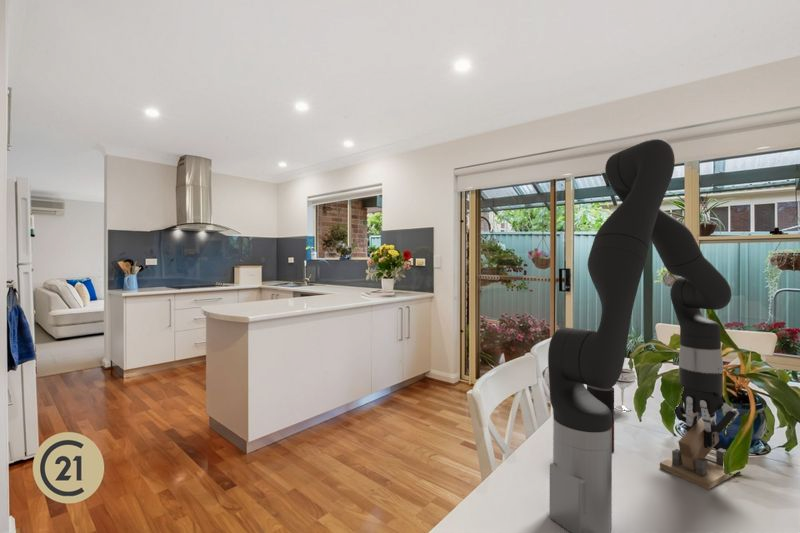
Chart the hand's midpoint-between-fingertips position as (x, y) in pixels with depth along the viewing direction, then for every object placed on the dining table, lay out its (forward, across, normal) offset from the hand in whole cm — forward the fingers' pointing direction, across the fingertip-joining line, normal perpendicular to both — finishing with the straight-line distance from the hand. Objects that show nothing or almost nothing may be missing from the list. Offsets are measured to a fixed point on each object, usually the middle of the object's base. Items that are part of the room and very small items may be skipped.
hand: (701, 444), depth 82 cm
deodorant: (+5, -16, -11) cm, 20 cm away
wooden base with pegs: (+5, 0, -1) cm, 5 cm away
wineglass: (+6, -29, +20) cm, 36 cm away
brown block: (+2, 0, 0) cm, 2 cm away
